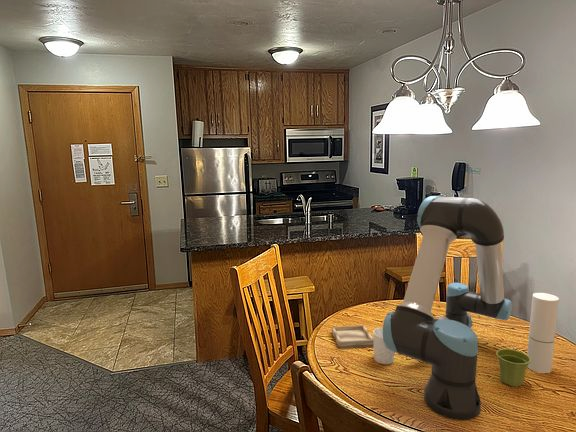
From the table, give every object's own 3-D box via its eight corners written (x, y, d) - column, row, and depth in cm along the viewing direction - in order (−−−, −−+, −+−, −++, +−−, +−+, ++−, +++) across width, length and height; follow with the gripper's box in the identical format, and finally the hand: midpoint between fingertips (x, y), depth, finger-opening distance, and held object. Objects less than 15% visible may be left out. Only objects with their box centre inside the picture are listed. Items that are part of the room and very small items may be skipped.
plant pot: (488, 373, 130) (490, 348, 129) (518, 373, 130) (520, 348, 128) (503, 390, 121) (505, 363, 119) (534, 390, 120) (537, 363, 119)
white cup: (396, 366, 135) (397, 338, 133) (372, 364, 136) (373, 337, 135) (394, 354, 142) (395, 328, 141) (372, 352, 144) (372, 327, 142)
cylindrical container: (553, 367, 133) (560, 296, 129) (548, 376, 127) (556, 302, 123) (529, 360, 137) (535, 291, 133) (523, 368, 132) (530, 297, 128)
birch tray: (374, 346, 148) (374, 340, 148) (339, 348, 147) (339, 342, 147) (363, 330, 161) (363, 325, 161) (331, 332, 160) (331, 326, 160)
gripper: (463, 352, 139) (417, 367, 130) (412, 325, 161) (370, 336, 152) (465, 332, 138) (418, 346, 129) (413, 307, 160) (370, 317, 151)
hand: (392, 340), depth 140 cm, fingers open, 13 cm apart
